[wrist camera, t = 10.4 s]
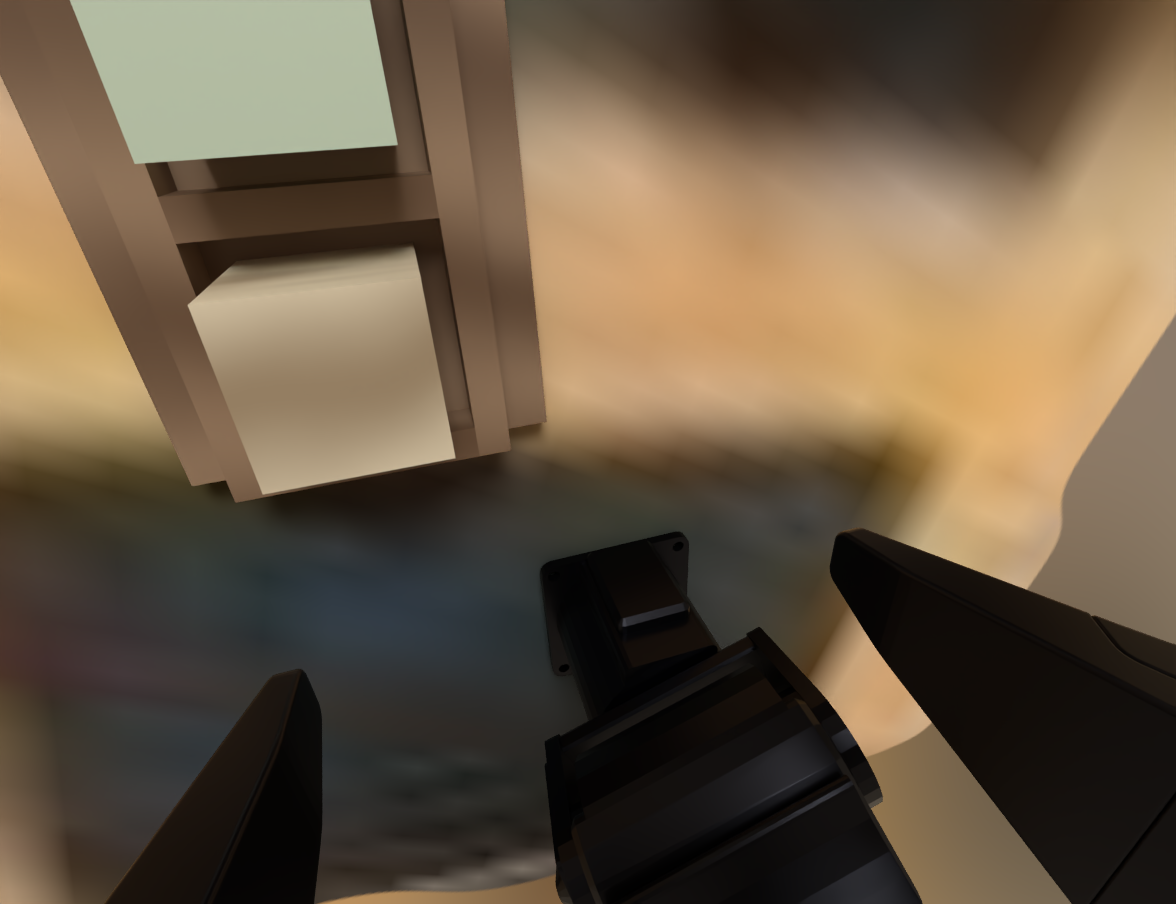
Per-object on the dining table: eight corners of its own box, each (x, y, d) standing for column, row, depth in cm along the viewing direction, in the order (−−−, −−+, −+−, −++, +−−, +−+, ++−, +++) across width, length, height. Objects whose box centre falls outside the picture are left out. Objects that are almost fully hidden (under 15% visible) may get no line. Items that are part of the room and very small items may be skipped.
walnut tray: (540, 410, 21) (557, 441, 19) (201, 470, 19) (177, 513, 16) (418, -750, 10) (427, -979, 8) (-448, -975, 8) (-764, -1391, 6)
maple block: (441, 390, 19) (455, 457, 15) (289, 415, 18) (263, 494, 14) (413, 242, 16) (420, 277, 13) (236, 260, 15) (187, 305, 12)
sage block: (395, 140, 15) (397, 145, 11) (202, 153, 14) (134, 163, 10) (349, -92, 13) (334, -183, 9) (116, -96, 12) (-10, -199, 8)
